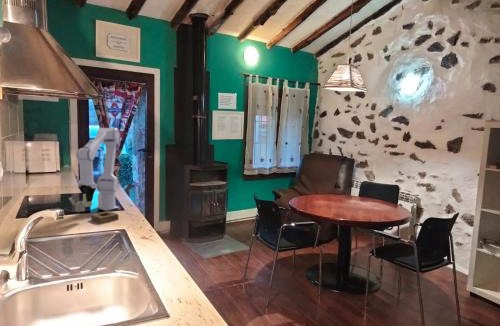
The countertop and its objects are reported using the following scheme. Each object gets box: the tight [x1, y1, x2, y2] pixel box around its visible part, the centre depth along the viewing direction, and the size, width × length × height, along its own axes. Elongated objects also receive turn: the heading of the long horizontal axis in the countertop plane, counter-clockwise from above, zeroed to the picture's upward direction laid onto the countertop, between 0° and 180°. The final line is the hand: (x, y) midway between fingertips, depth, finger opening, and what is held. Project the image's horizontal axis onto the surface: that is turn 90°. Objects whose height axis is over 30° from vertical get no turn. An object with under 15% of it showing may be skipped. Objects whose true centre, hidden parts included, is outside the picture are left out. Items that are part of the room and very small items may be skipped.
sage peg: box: [82, 194, 93, 208], centre depth 162 cm, size 3×3×6 cm
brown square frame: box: [90, 210, 119, 225], centre depth 163 cm, size 9×9×2 cm
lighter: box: [68, 196, 86, 213], centre depth 175 cm, size 7×2×8 cm, turn 130°
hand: (88, 200), depth 162 cm, fingers closed on sage peg, 3 cm apart
